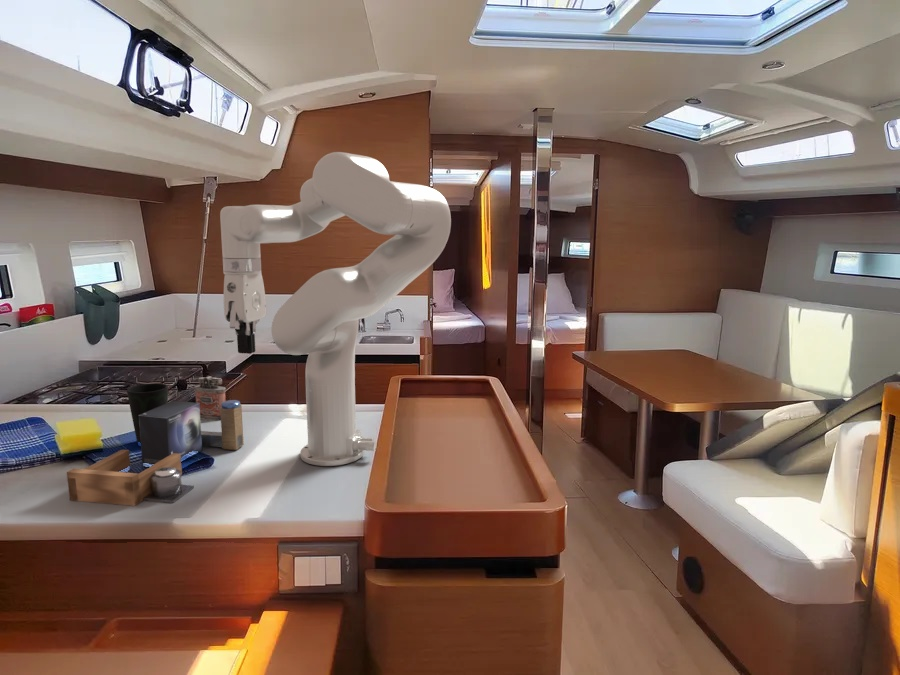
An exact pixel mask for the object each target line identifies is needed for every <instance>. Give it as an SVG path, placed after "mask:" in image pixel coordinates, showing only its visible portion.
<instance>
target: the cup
mask: <svg viewBox="0 0 900 675" xmlns="http://www.w3.org/2000/svg"><path fill="white" fill-rule="evenodd" d="M126 393H127V400H128V404H129V409H130V413H131V418H132V423H133V424H132V425H133V429H134V434H135V438H136V439H135V440H136V443H137V442H140V443H141V439H140V427H139V415H140V414H142V413H145V412H147V411H150V410H152V409H154V408H157V407H159V406H162V405H164V404H166V403H169V402H168V396H169V395H168V394H169V386H168V384H166V383H161V382H160V383H159V382H157V383H155V382H154V383H153V382H152V383H144V384H143V383H142V384H138V385H133V386H131V387H129V388H127V390H126Z"/></svg>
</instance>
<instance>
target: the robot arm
mask: <svg viewBox="0 0 900 675" xmlns="http://www.w3.org/2000/svg"><path fill="white" fill-rule="evenodd" d="M299 198H300V201H299V202H297V203H294V204H291V205H277V204H249V205H244V206H243V205H232V206H231V205H230V206H229V205H228V206H223V208H221V210H220V211H219V212H220V213H219V216H220V217H219V218H220V233H221V234H220V235H221V239H220V240H221V250H222V267H223V269H222V270H223V271H222V272H223V275H224V279H223V312H224V319H225V320H226V321H227V322H229V329H231V330H234V331H235V332H234V333H235V335H236V341H237V342H236V343H237V353H238V354H247V355H248V354H250V355H251V354H254V353H255V352H256V335H255V334H256V332H257V331H256V330H257V329H256V328H257V326H256V325H257V324H258V323H259V322H260V320H261V319H263V318H265V316H266V315H267V303H266V302H267V301H266V300H267V299H266V290H265V286H264V285H265V284H264V279H263V278H264V277H263V275H262V259H261V255H262V254H261V244H272V243H274V244H276V243H277V244H280V243H281V244H282V243H294V242H299V241H301V240H302V241H303V240H305V239H307V238H309V237H312V236H315V235H317V234H319V233H321V232H323V231H324V230H325V229H326V228H327V227H328V226H329V225H330V223H331V222H334V221H335V220H339V219H340V218H342V217H345V216H346V217H347V218H350V219H351V220H352V221H354V222H356V223H357V224H360V225H361V226H362V227H364V228H366V229H367V230H369V231H372V232H374V233H377V234H380V235H386V236H392V237H391V238H389V239H388V240H386V241H384V242H382V243H381V244H379V246H377V248H375V249H374V251H372V252H371V253H370V254H369V255H368V256H367V257H365V258H364V259H363V260H362V261H361V262H359V263H357V264H355V265H352V266H345V267H336V268H329V269H324V270H322V271H320V272H318V273H316V274H314V275H313V276H311V277H310V278H309V279H307V281H306V282H305V283H304V284H303V285H302V286H300V287H299V289H297V290H296V291H295V292H294V293H293V294H291V296H290V297H289V298H288V299H287V300H286V301H285V302H284V303H283V304H281V306H280V307H279V308H278V310H277V311H276V313H275V315H274V316H273V319H272V320H273V321H272V322H271V323H272V324H271V336H272V340H273V342H274V345H276V347H277V348H279V350H280V351H282V352H284V353H286V354H287V355H292V356H301V355H306V354H308V356H307V359H306V364H305V373H304V374H305V398H306V399H305V401H306V403H305V404H306V422H307V423H306V426H307V429H306V430H307V444H306V445H304V446H303V447H302V448H301V449H300V451H299V453H300V459H301V460H302V461H303V462H305V463H306V464H310V465H314V466H317V467H318V466H319V467H320V466H321V467H333V466H342V465H347V464H350V463H351V464H352V463H353V462H355V461H357V460H359V459H360V458H362V457H363V456H364V455H365V451H367V452H376V450H375V447H376V448H377V441H375V439H374V437H363V436H362V434H361V429H357V421H356V420H357V418H356V417H357V415H356V385H355V384H356V380H355V379H356V369H355V367H356V363H355V362H356V347H357V342H358V341H357V340H358V334H359V326H360V325H359V324H360V323H359V322H360V321H359V320H362V319H365V318H368V317H372V316H374V315H375V314H376V313H378V311H380V310H381V309H382V308H383V307H385V305H387V304H388V303H389V302H390V301H391V300H393V298H395V297H396V296H398V294H399V293H401V292H402V291H403V290H404V289H405V288H406V287H407V286H408V285H410V284H411V283H412V282H413V281H415V279H417V278H418V277H419V276H420V275H421V274H423V273H424V272H425V271H426V270H427V269H428V268H429V267H431V266H432V264H434V263H435V262H436V260H437V259H438V258H439V257H440V255H441V254H442V252H443V251H444V249H445V247H446V244H448V243H447V242H448V240H449V237H450V234H451V229H452V228H451V227H452V218H451V217H452V216H451V210H450V207H449V203H448V202H447V199H446V198H445V196H443V194H442V193H441V192H439V191H438V190H437V189H435V188H432V187H430V186H427V185H424V184H417V183H410V182H400V181H399V182H398V181H392V180H390V175H389V173H388V170H387V169H386V167H385V166H384V164H382V163H381V162H380V161H379V160H377V159H376V158H374V157H370V156H368V155H367V156H366V155H361V154H356V153H349V152H342V151H333V152H329V153H328V154H325V155H324V156H323V157H321V158H320V159H319V160H318V161H317V163H316V165H315V166H314V169H313V172H312V177H311V178H309V179H307V180H306V181H304V182H303V184H302V185H301V188H300V190H299Z"/></svg>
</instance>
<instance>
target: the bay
mask: <svg viewBox="0 0 900 675" xmlns="http://www.w3.org/2000/svg"><path fill="white" fill-rule="evenodd" d="M128 466H131V457H130V450H129V449H120V450H118V451H116V452H114V453H113V454H111V455H109V456H107V457H104V458H103V459H101V460H98V461H97V462H95V463H93V464H91V465H89V466H87V467H85V468H71V469H70V470H68V471H66V478H67V486H68V494H69V495H68V496H69V501H74V502H84V503H85V502H86V503H96V504H97V503H99V504H107V505H110V504H111V505H120V506H122V505H123V506H131V507H132V506H133V507H135V506H137V505H138V504H140V503H141V502H143V498H144V497H145V496H147V495H148V494H150V493H151V492H152V483H151V475H152V474H153V473H155V472H156V471H157V470H158V469H161V468H165V467H174V468H176V469H178V470H180V471H181V476H182V475H183V468H182V463H181V454H177V453H173V454H171V455H169V456H167V457H166V458H164V459H162V460H161V461H159V462H157V463H156V464H154V465H152V466H151V467H149V468H147V467H146V469H144V470H142V471H141V472H139V473H137V472H135V473H134V472H127V473H126V472H119V471H121V470H123V469H125V468H127V467H128Z"/></svg>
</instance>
